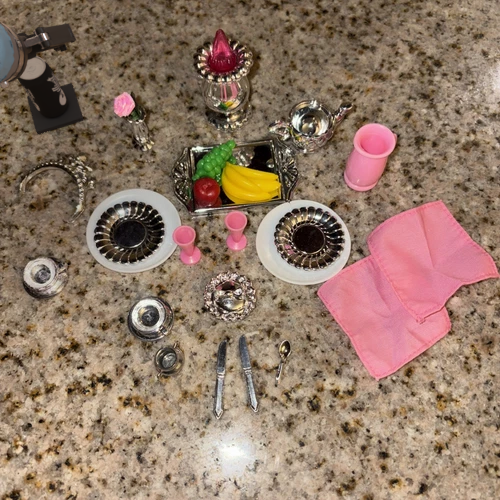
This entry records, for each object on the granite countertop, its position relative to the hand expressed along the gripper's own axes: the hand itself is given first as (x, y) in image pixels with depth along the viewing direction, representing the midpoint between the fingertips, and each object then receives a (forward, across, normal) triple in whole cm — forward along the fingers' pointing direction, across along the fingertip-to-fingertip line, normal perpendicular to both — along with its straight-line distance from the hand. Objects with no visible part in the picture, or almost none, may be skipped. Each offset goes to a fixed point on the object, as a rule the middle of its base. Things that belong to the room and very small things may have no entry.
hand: (14, 57), depth 79 cm
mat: (+26, 0, -11) cm, 28 cm away
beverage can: (+25, 0, -10) cm, 27 cm away
